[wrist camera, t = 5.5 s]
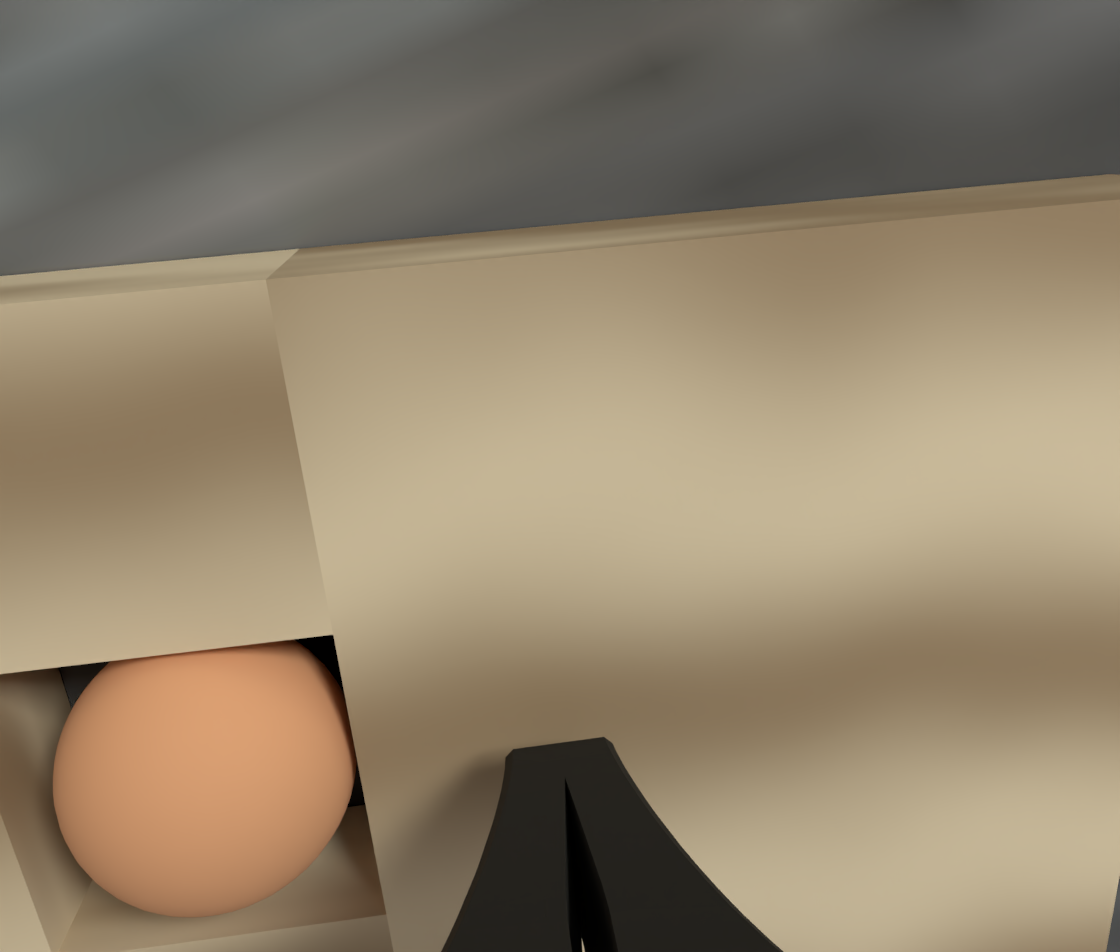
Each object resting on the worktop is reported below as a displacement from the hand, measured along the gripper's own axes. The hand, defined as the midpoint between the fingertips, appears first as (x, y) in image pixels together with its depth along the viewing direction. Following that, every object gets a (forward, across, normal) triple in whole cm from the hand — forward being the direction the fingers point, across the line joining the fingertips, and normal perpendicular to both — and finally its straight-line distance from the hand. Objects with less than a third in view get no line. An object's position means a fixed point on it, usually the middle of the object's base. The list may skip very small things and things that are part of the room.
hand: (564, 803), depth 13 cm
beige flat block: (+3, +1, 0) cm, 4 cm away
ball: (+1, +5, 0) cm, 5 cm away
